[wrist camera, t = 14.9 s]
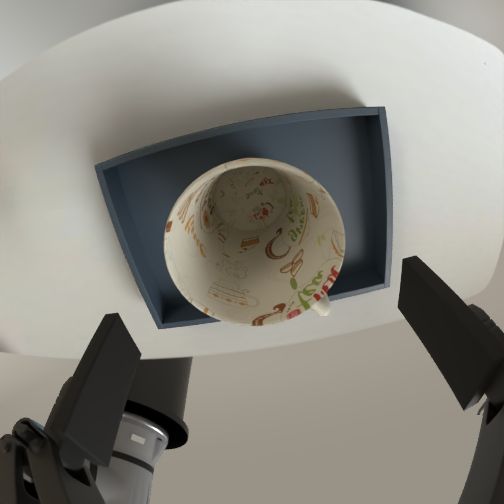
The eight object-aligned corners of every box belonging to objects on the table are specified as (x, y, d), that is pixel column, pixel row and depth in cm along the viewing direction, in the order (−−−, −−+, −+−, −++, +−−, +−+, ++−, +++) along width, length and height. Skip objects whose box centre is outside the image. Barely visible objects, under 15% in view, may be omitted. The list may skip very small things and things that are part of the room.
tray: (165, 309, 27) (158, 329, 24) (111, 159, 20) (94, 165, 17) (376, 270, 25) (389, 287, 23) (367, 107, 19) (385, 106, 16)
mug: (252, 120, 19) (261, 117, 10) (352, 235, 23) (407, 303, 14) (174, 196, 21) (128, 253, 12) (279, 292, 25) (296, 379, 16)
